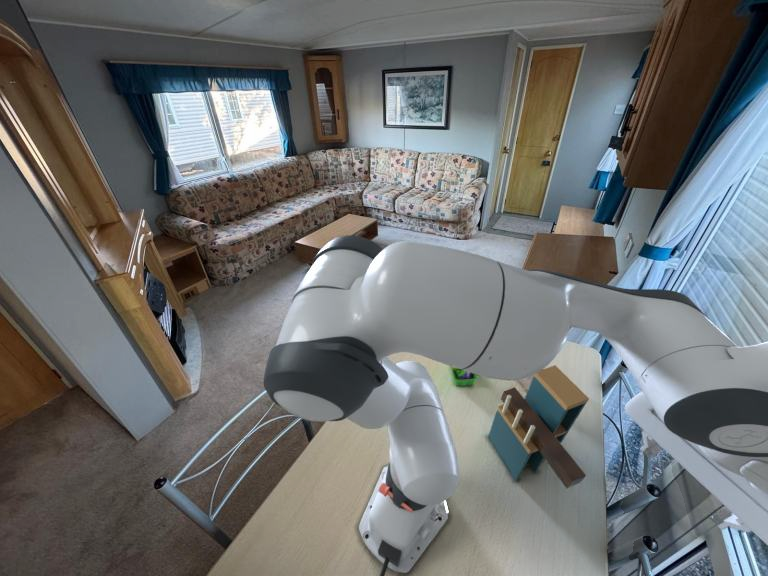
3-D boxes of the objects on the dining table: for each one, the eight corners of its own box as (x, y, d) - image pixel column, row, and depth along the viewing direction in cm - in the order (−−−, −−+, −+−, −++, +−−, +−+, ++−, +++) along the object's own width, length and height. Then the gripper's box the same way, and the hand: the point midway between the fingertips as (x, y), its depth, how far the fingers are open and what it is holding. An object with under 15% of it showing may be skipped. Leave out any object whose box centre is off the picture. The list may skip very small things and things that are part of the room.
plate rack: (560, 461, 81) (597, 406, 65) (514, 481, 77) (541, 428, 62) (529, 421, 90) (555, 364, 75) (487, 437, 87) (505, 382, 71)
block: (580, 482, 63) (586, 475, 60) (566, 488, 62) (572, 481, 60) (512, 395, 79) (514, 387, 77) (500, 399, 79) (503, 391, 77)
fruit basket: (475, 388, 100) (481, 366, 93) (449, 389, 100) (452, 367, 93) (468, 361, 109) (472, 340, 102) (444, 362, 109) (446, 340, 102)
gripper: (638, 374, 42) (600, 426, 51) (861, 552, 27) (753, 585, 35) (670, 362, 44) (628, 414, 52) (900, 523, 28) (787, 561, 36)
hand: (680, 484), depth 43 cm, fingers open, 8 cm apart
